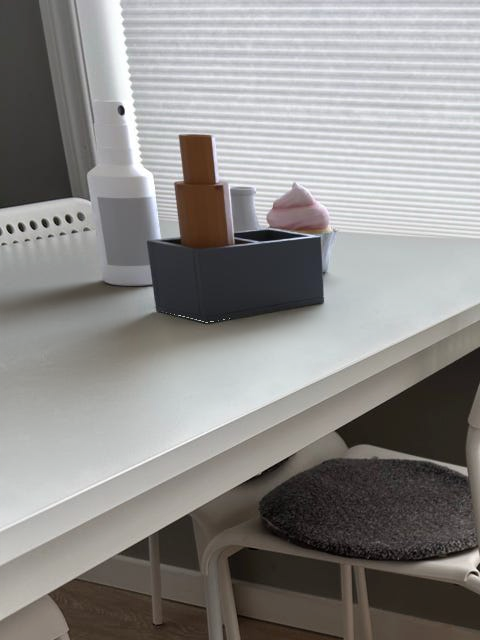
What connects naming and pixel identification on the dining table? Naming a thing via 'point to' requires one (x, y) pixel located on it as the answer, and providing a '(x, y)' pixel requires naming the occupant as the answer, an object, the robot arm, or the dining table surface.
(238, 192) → the flask
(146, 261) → the spray bottle
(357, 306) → the dining table surface
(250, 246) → the holder
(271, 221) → the cupcake
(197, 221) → the bottle
